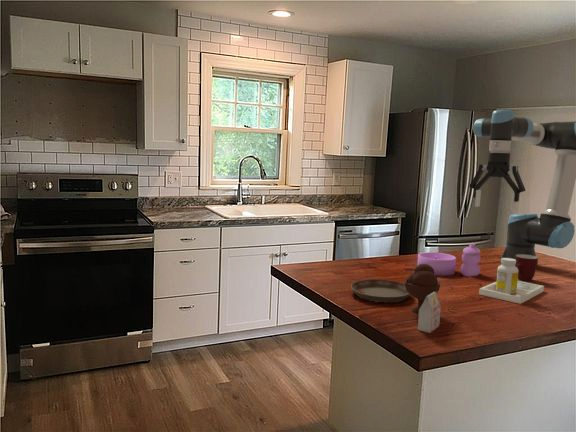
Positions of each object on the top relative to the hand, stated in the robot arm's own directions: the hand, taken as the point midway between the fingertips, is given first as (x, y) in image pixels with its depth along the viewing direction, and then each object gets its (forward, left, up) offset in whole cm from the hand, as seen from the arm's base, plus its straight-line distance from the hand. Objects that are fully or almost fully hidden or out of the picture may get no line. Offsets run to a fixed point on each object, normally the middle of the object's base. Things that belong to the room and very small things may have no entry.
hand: (494, 208), depth 191 cm
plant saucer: (+48, -17, -29) cm, 59 cm away
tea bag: (+64, +10, -29) cm, 71 cm away
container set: (-2, -18, -29) cm, 34 cm away
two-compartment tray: (+11, +13, -29) cm, 33 cm away
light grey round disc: (+6, +13, -28) cm, 31 cm away
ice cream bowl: (+53, +1, -29) cm, 60 cm away
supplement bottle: (+16, +13, -28) cm, 35 cm away
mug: (-11, +9, -29) cm, 32 cm away
